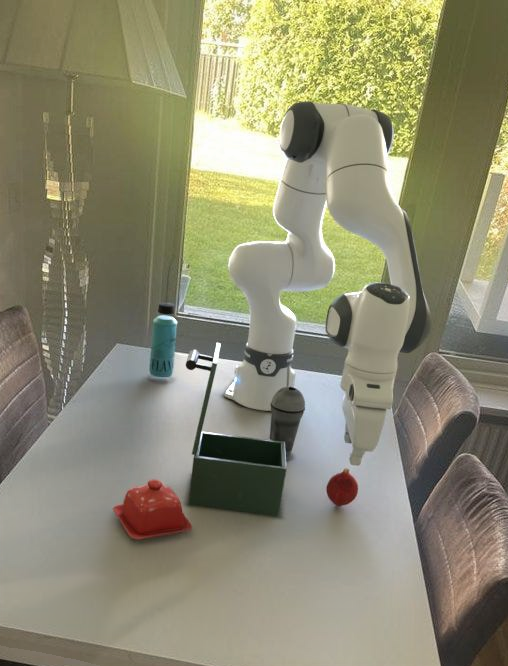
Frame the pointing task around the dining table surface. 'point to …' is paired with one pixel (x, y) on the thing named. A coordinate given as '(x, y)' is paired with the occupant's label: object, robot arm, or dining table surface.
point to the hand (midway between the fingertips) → (351, 452)
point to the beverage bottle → (163, 342)
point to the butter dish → (152, 511)
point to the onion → (342, 488)
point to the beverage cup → (286, 415)
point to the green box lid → (192, 365)
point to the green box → (238, 473)
